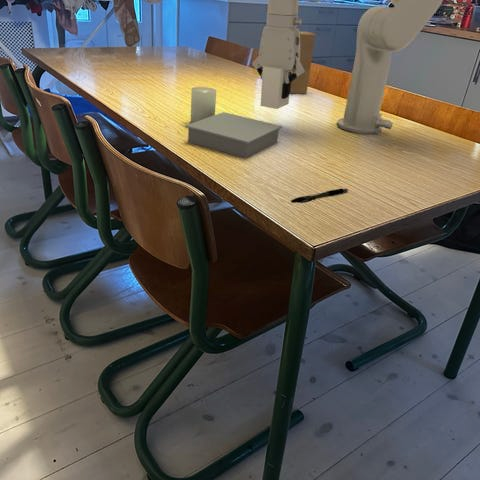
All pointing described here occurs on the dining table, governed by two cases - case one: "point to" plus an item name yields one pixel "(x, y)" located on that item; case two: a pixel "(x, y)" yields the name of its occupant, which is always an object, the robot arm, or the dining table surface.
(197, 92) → the grey cylinder
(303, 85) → the decorative block
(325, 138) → the dining table surface
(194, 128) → the podium
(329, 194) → the pen
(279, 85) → the carton
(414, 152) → the dining table surface
